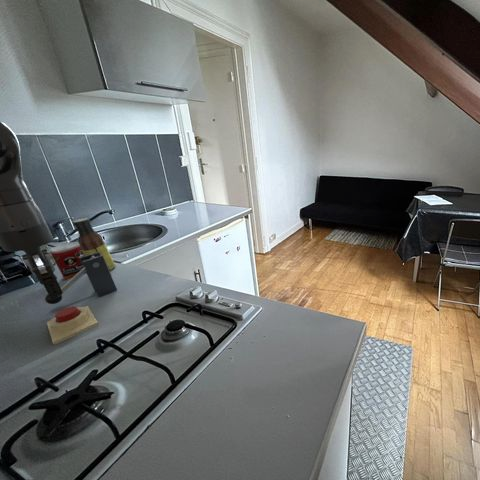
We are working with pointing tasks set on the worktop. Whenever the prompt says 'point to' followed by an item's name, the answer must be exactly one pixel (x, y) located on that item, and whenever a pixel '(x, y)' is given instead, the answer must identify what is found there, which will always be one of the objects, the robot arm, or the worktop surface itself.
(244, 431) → the worktop surface
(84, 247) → the sauce bottle
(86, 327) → the button box
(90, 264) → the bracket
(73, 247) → the canned food
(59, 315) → the button
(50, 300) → the lever
